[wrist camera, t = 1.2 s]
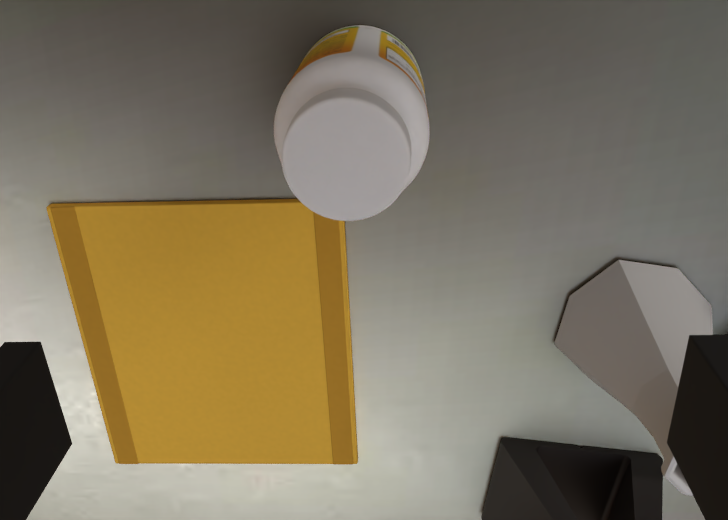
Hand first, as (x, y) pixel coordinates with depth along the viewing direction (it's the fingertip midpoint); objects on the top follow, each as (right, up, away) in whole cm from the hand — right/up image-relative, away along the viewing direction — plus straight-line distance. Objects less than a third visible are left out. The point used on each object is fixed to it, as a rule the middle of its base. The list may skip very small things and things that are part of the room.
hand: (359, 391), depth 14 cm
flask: (+13, 0, +20) cm, 24 cm away
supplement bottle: (0, +10, +15) cm, 18 cm away
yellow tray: (-8, -2, +22) cm, 23 cm away
